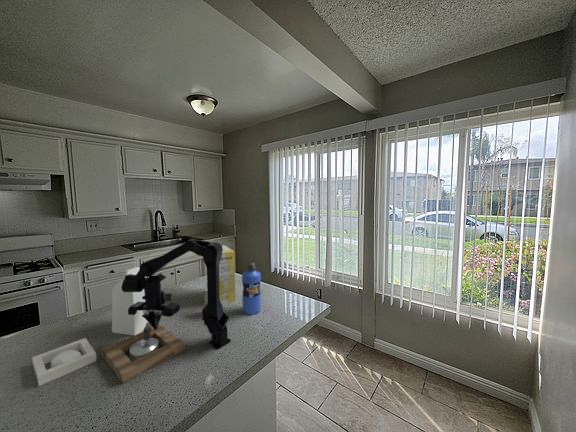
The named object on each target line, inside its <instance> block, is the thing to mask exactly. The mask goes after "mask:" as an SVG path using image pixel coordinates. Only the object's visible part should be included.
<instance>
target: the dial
mask: <svg viewBox="0 0 576 432" xmlns="http://www.w3.org/2000/svg"><path fill="white" fill-rule="evenodd" d="M152 328H153V327H152V326H151V325H150V323H149V322H147V323H146V326H145V328H144V330H143V331H142V332H144V339H142V340H140V341H138V342H136V343H134V344H133V345H132V346H131V347H130V351H129V359H130V360H131V361H132V362H133V361H135V360H137V359H139V358H141V357H143V356H145V355H147V354H150V353H152V352H154V351H156V350H158V349H160V346H159V345H160V344H159V343H158V340H157V339H156V338H149V337H150V334H151V332H152Z"/></svg>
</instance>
